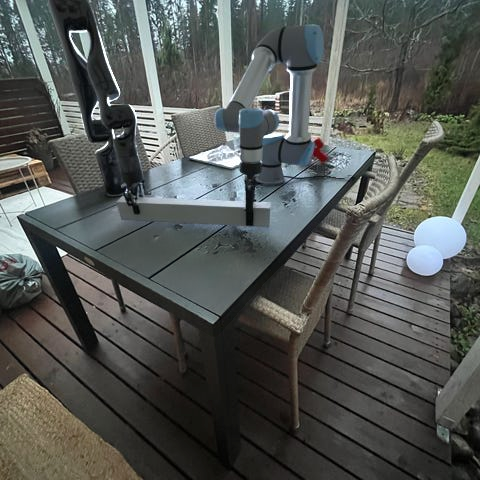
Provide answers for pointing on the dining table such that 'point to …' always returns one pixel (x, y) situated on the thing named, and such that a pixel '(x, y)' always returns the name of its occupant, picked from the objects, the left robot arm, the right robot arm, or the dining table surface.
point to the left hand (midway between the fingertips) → (140, 210)
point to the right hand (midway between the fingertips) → (250, 221)
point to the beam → (195, 211)
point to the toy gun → (319, 151)
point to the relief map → (220, 157)
